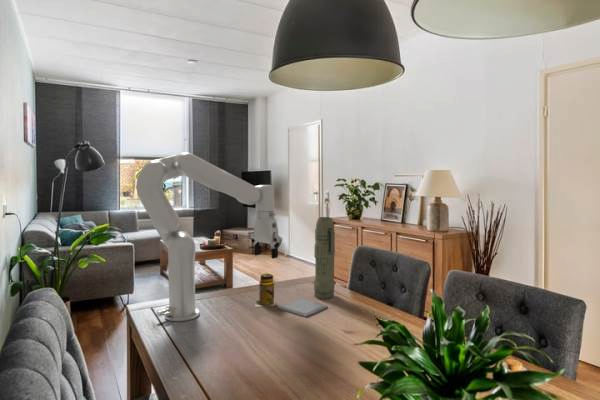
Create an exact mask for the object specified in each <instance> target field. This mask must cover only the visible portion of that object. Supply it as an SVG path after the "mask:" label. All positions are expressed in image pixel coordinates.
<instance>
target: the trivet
mask: <svg viewBox="0 0 600 400" xmlns="http://www.w3.org/2000/svg"><path fill="white" fill-rule="evenodd" d="M328 307H329V305H326V304H322V303H319V302H316V301H311V300H308V299H304V298H297V299H296V300H294V301H290V302H289V303H285V304H283V305H280V306H278V310H280V311H284V312H287V313H290V314H292V315H296V316H299V317H303V318H308V317H310V316H313V315H315V314H317V313H319V312H322V311H324V310H326V309H328Z"/></svg>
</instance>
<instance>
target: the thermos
mask: <svg viewBox="0 0 600 400" xmlns="http://www.w3.org/2000/svg"><path fill="white" fill-rule="evenodd" d="M314 233H315V234H314V235H315V238H314V239H315V243H314V254H313V256H314V258H315V265H314V266H315V271H314V272H315V273H314V274H315V277H314V281H313V291H314V295H313V296H314V297H315V298H316V299H320V300H330V299H331V300H332V299H333V298H334V296H335V293H334V292H335V280H334V258H335V252H336V251H335V249H336V248H335V238H336V237H335V231H334V221H333V219H332V217H329V216H320V217H318V218H317V220H316V224H315V230H314Z"/></svg>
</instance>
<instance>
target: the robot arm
mask: <svg viewBox="0 0 600 400" xmlns="http://www.w3.org/2000/svg"><path fill="white" fill-rule="evenodd" d="M182 176H185V177H187V178H189V179H191V180H193V181H195V182H197V183H199V184H201V185H203V186H205V187H207V188H208V189H211V190H214V191H217V192H220V193H223V194H226V195H228V196H230V197H231V198H232V197H233V198H234V199H236V200H237V201H238V202H239V203H241V204H243V205H248V206H253V205H255V218H254V226H253V232H252V233H250V234H249V237H250V238H251V242H252V245H253V248H254V256H258V255H259V256H260V255H261V254H262V246H261V244H262V243H263V244H270V246H271V251H270V252H271V254H270V255H271V259H277V258H278V257H279V250H278V249H279V248H280V246H281V245H282V241H283V238H282V237H281V236H280V235H279V230H278V229H279V228H278V222H277V218H276V213H275V189H274V186H273V185H272V184H259V185H253V184H251V183H250V182H247V180H243V179H242V178H240V177H238V176H235V175H234V174H232V173H230V172H227V171H226V170H224V169H222V168H220V167H217V166H216V165H214V164H212V163H210V162H208V161H207V160H204V159H203V158H202V157H199V156H198V155H195V154H193V153H190V152H187V151H186V152H185V151H184V152H180V153H178V154H175V155H171V156H166V157H162V158H158V159H152V160H149V161H147V162H146V163H144V164H143V166H142V168H141V170H140V172H139V174H138V175H137V179H136V185H135V186H136V192H137V193H136V194H137V196H138V198H139V200H140V202H141V204H142V206H143V207H144V210H145V211H146V214H147V215H148V216H149V219H150V220H151V224H152V226H153V227H154V229H155V231H156V232H157V233H158V235H159V237H160V238H161V240H162V243H164V245H165V246H166V248H167V253H168V256H167V257H168V268H167V269H168V271H167V272H168V274H167V275H168V304H166V307H165V308H164V309H161V310H159V311H156V316H157V317H158V318H159V317H162V316H164V318H165V320H167V321H171V322H185V321H191V320H193V319H195V318H197V317H199V315H200V314H201V313H200V312H201V311H200V309H199V308H197V307H196V272H195V271H196V270H195V266H196V265H195V261H196V244H195V240H194V239H193V237H192V236H191V235H190V234H189V233H188V231H187V230H186V228H185V226H184V224H183V223H182V221H181V219H180V216H179V215H178V213H177V211H176V210H175V209H174V207H173V206H172V204H171V202H170V201H169V199H168V197H167V195H166V194H165V191H164V189H163V182H164V181H168V180H171V179H174V178H175V179H176V178H178V177H179V178H180V177H182Z"/></svg>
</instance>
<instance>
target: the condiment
mask: <svg viewBox="0 0 600 400" xmlns="http://www.w3.org/2000/svg"><path fill="white" fill-rule="evenodd" d="M259 279H260V280H259V286H258V287H259V295H258V296H259V300H253V304H254V306H255V308H257V307H258V308H259V307H274V306H277V305H276V302H275V281H274V275H273V274H271V273H264V274H261V275H260V278H259Z"/></svg>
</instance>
